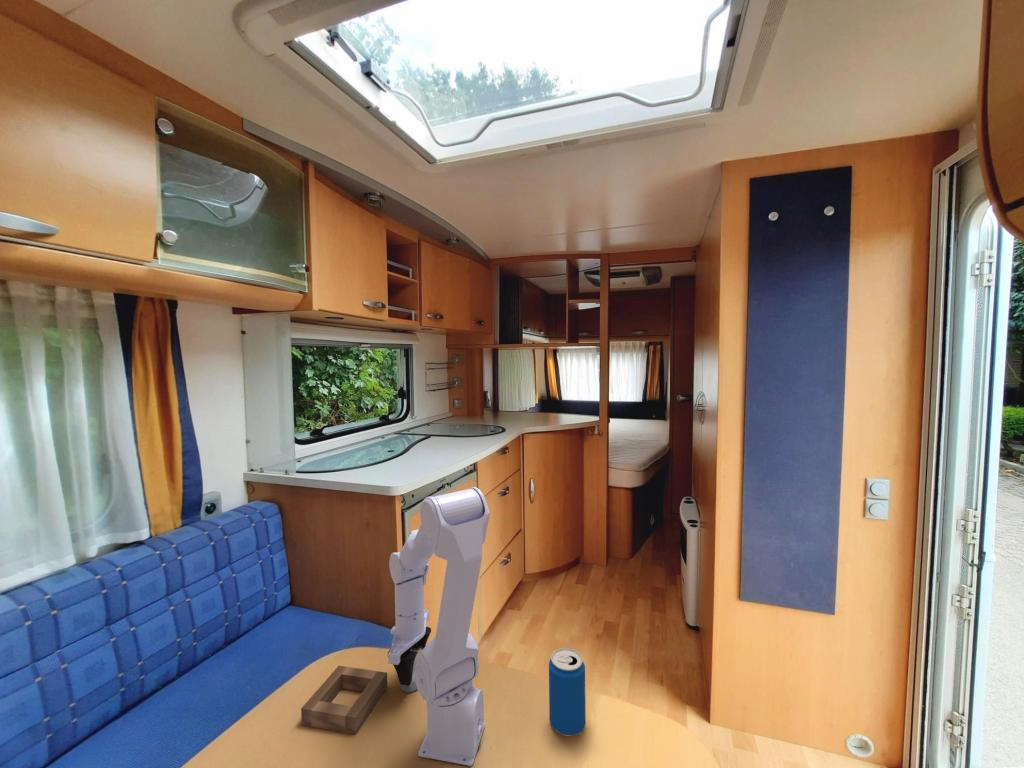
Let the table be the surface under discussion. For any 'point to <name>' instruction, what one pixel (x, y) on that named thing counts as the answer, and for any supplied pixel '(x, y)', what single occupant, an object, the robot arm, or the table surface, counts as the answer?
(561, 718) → the beverage can
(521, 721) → the table surface
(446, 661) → the robot arm
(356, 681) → the walnut socket block
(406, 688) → the metal peg
